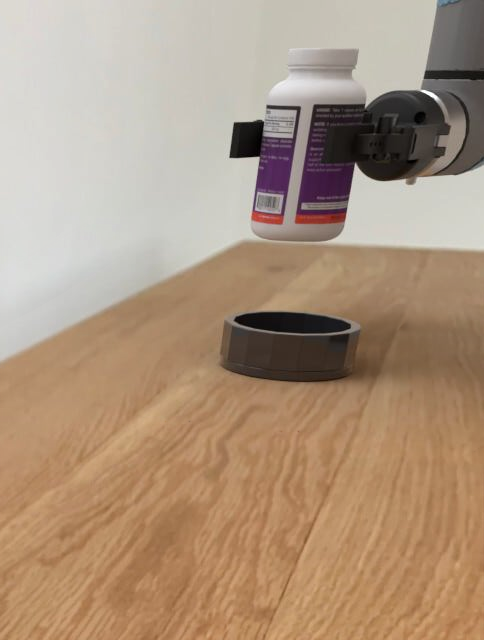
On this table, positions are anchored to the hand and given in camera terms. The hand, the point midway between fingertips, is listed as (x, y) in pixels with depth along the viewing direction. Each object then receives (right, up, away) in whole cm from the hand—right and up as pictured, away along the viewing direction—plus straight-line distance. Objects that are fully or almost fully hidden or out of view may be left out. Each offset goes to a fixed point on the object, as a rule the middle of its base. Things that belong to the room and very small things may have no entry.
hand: (280, 142), depth 92 cm
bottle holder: (+3, -16, +9) cm, 18 cm away
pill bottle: (+3, -5, +7) cm, 9 cm away
